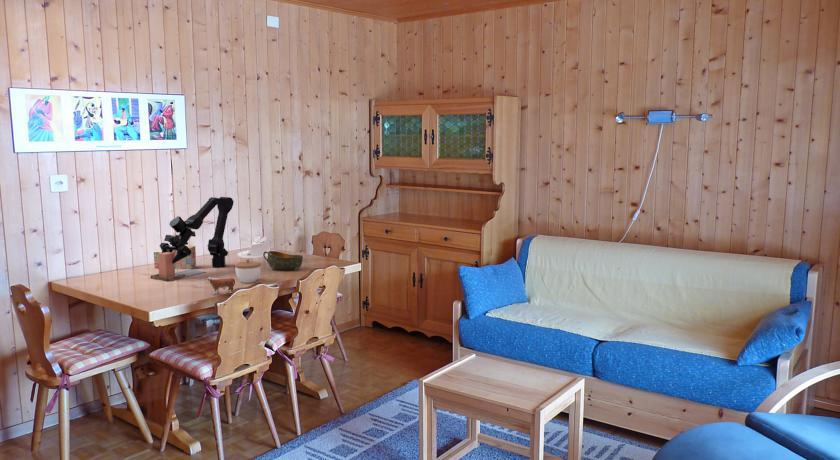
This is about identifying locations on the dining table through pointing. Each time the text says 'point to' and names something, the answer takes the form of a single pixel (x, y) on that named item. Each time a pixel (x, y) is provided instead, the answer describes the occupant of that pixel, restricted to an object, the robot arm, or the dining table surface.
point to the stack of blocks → (184, 263)
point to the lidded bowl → (248, 271)
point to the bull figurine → (221, 284)
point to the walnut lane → (167, 278)
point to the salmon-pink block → (166, 264)
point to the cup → (283, 261)
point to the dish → (257, 249)
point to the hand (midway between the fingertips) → (166, 262)
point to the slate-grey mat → (189, 272)
